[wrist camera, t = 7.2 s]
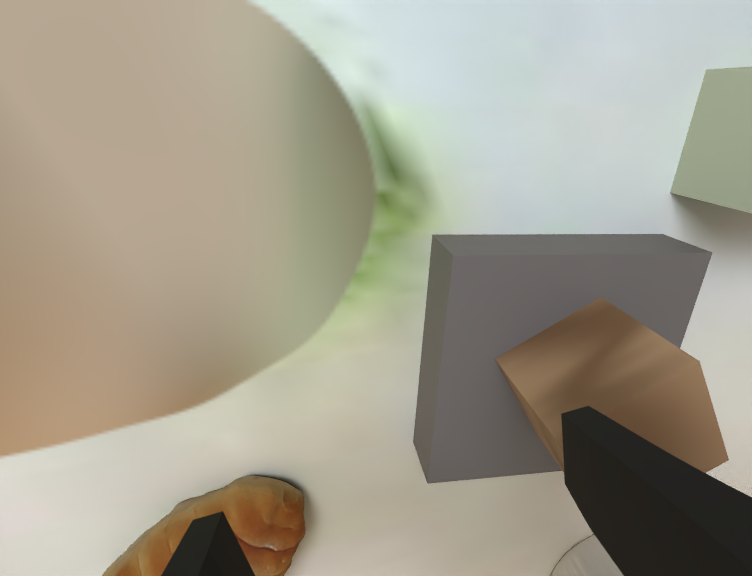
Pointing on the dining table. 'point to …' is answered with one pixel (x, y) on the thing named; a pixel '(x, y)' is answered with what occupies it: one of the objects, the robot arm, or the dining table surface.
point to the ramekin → (587, 561)
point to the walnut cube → (615, 383)
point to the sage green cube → (719, 142)
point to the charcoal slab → (526, 331)
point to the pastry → (246, 517)
